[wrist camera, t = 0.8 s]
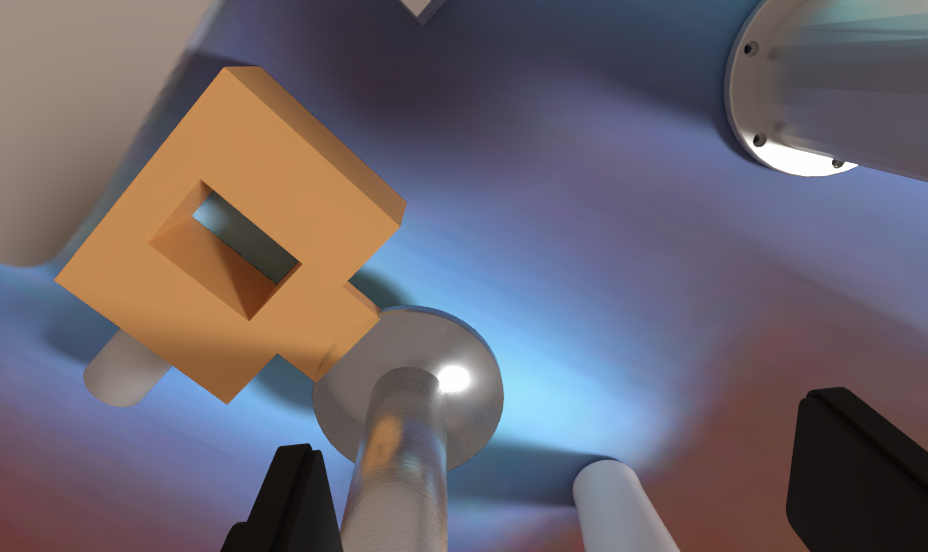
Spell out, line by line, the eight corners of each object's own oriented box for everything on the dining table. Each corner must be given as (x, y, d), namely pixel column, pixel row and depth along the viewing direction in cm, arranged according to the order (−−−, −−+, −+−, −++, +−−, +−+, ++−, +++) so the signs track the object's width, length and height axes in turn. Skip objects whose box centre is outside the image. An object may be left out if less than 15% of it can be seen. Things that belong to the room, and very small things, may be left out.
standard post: (408, 243, 39) (358, 492, 16) (529, 352, 42) (627, 687, 19) (296, 357, 41) (119, 706, 19) (417, 451, 45) (389, 845, 22)
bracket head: (260, 66, 35) (224, 66, 29) (439, 232, 39) (438, 261, 33) (62, 307, 40) (-1, 348, 34) (239, 433, 44) (209, 488, 38)
